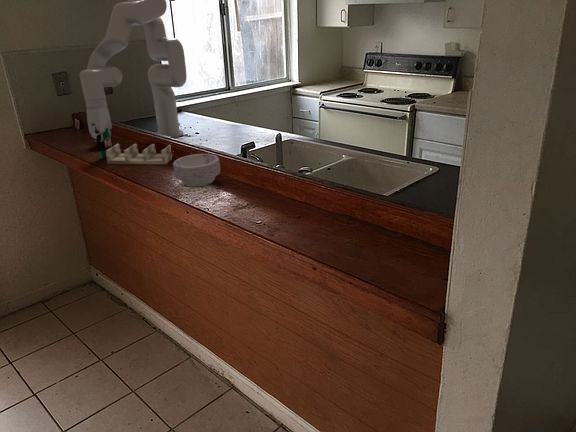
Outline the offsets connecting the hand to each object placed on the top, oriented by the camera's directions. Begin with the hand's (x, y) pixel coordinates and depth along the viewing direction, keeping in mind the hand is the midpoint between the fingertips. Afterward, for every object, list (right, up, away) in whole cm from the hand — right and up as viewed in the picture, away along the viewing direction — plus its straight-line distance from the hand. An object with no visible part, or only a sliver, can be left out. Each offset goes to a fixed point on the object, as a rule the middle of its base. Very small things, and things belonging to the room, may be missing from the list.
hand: (105, 148), depth 198 cm
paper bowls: (+42, -16, -30) cm, 55 cm away
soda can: (0, -3, +1) cm, 3 cm away
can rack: (+15, -5, -4) cm, 17 cm away
